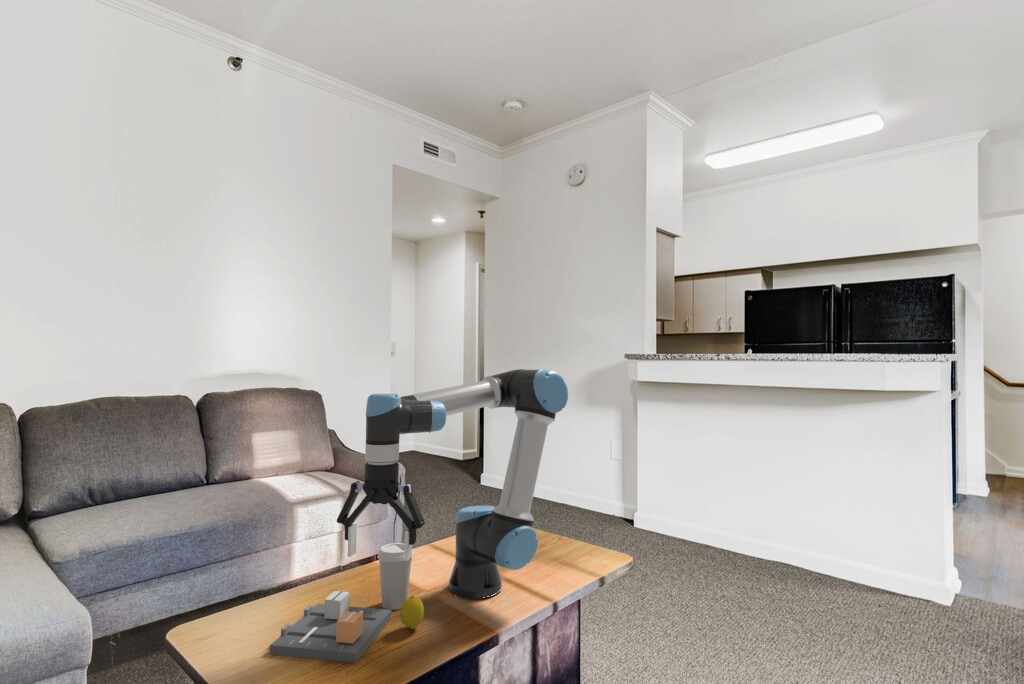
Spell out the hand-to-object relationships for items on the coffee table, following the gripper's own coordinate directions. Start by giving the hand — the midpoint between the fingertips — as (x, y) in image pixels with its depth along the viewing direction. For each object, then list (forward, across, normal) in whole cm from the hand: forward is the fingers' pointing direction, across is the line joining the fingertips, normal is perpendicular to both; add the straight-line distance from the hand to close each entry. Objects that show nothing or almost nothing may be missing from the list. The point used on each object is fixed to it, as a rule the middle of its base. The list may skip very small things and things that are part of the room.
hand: (379, 556), depth 124 cm
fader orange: (+19, +7, 0) cm, 20 cm away
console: (+21, +13, -5) cm, 25 cm away
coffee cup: (+21, +5, -23) cm, 31 cm away
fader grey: (+19, +15, -10) cm, 26 cm away
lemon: (+21, -4, -11) cm, 24 cm away
